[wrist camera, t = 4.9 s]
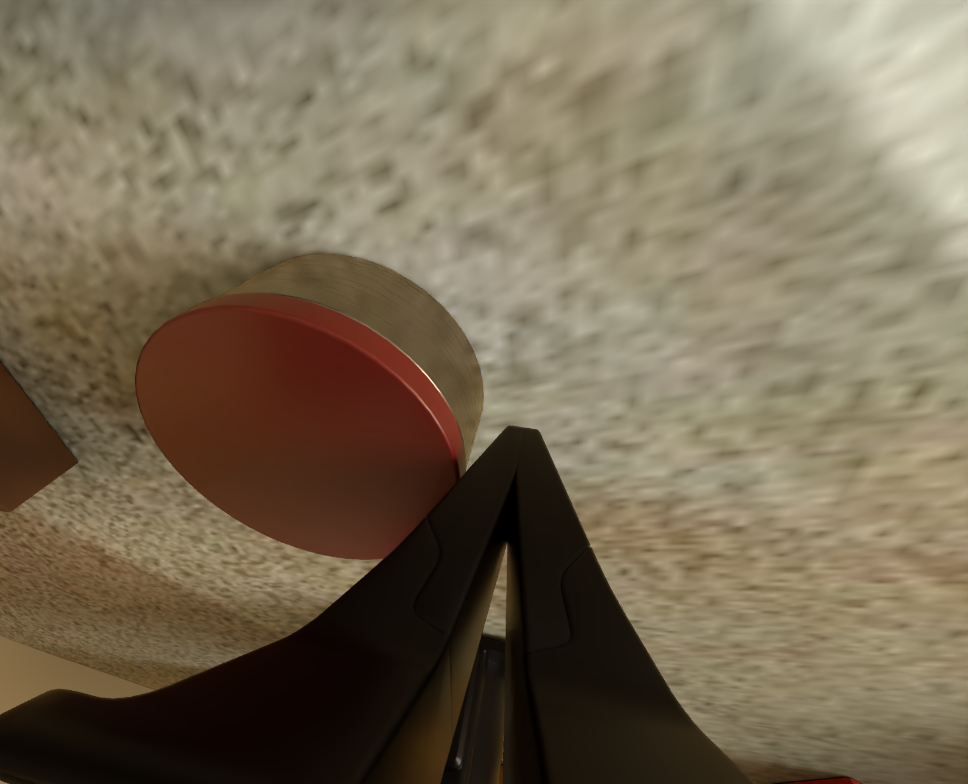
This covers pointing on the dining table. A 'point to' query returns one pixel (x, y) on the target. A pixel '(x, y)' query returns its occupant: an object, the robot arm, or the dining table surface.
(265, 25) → the dining table surface
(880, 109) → the dining table surface
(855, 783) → the french fries
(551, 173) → the dining table surface
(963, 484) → the dining table surface
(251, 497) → the tin
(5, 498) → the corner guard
